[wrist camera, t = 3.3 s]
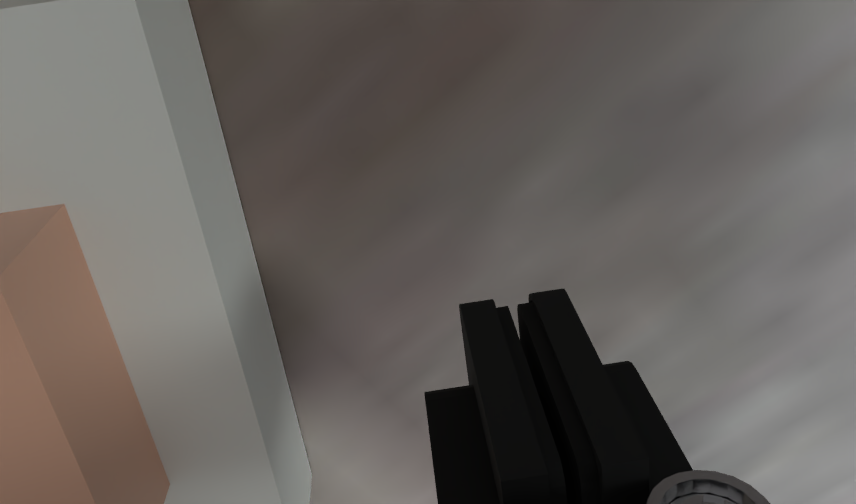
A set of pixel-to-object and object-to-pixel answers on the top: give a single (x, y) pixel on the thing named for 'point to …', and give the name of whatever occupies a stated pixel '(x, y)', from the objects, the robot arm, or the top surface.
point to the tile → (64, 378)
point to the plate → (154, 232)
